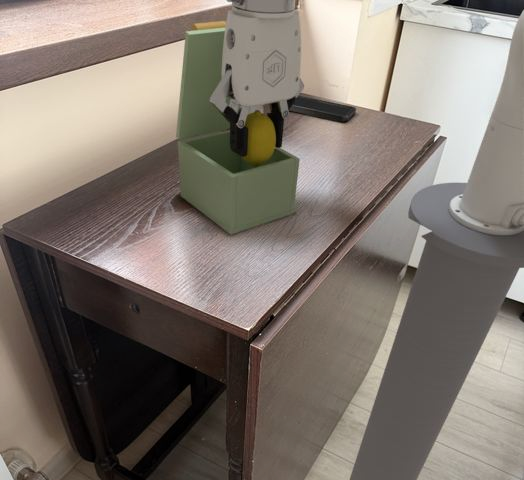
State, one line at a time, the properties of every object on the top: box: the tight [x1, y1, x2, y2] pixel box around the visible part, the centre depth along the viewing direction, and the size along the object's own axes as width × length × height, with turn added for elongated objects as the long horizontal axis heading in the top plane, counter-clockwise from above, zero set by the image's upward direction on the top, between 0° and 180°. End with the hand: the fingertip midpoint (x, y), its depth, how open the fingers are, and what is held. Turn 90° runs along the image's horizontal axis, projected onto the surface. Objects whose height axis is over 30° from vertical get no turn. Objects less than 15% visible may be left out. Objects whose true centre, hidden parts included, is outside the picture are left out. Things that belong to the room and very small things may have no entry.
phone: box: [289, 95, 357, 123], centre depth 115 cm, size 8×1×15 cm
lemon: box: [242, 110, 276, 168], centre depth 72 cm, size 6×6×8 cm
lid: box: [175, 20, 240, 140], centre depth 73 cm, size 15×12×5 cm
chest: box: [177, 129, 300, 235], centre depth 78 cm, size 14×12×9 cm
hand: (256, 147), depth 73 cm, fingers closed on lemon, 5 cm apart
